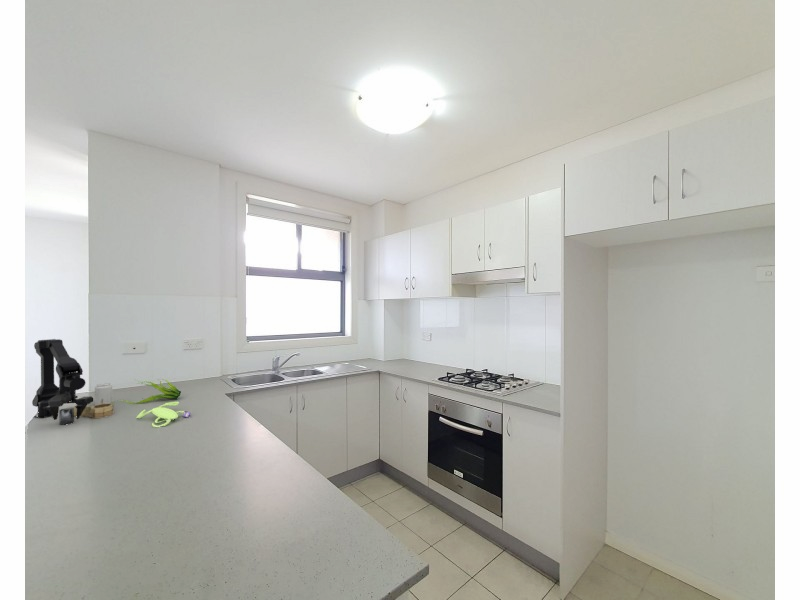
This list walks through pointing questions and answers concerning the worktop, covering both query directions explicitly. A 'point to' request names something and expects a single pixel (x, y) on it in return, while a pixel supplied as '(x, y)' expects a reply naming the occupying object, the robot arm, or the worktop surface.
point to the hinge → (97, 410)
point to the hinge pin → (66, 416)
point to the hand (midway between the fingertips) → (66, 419)
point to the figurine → (164, 413)
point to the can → (103, 393)
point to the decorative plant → (167, 394)
